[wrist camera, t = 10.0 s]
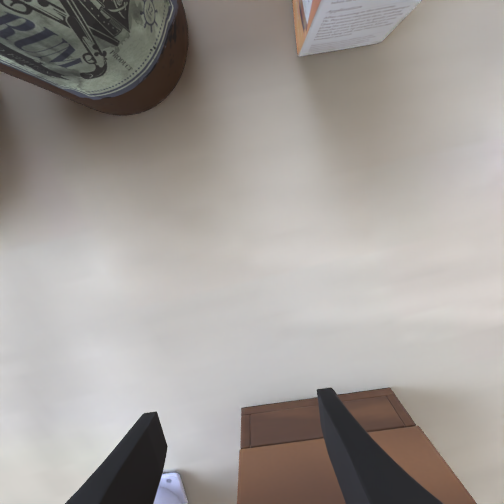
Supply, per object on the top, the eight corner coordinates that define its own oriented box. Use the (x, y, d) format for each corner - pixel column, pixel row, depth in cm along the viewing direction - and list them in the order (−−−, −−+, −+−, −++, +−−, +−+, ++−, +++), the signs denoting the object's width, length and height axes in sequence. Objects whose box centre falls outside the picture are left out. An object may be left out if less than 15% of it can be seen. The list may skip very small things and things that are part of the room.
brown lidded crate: (392, 474, 27) (415, 521, 23) (258, 491, 27) (259, 540, 23) (390, 387, 24) (416, 424, 20) (241, 407, 24) (240, 447, 21)
